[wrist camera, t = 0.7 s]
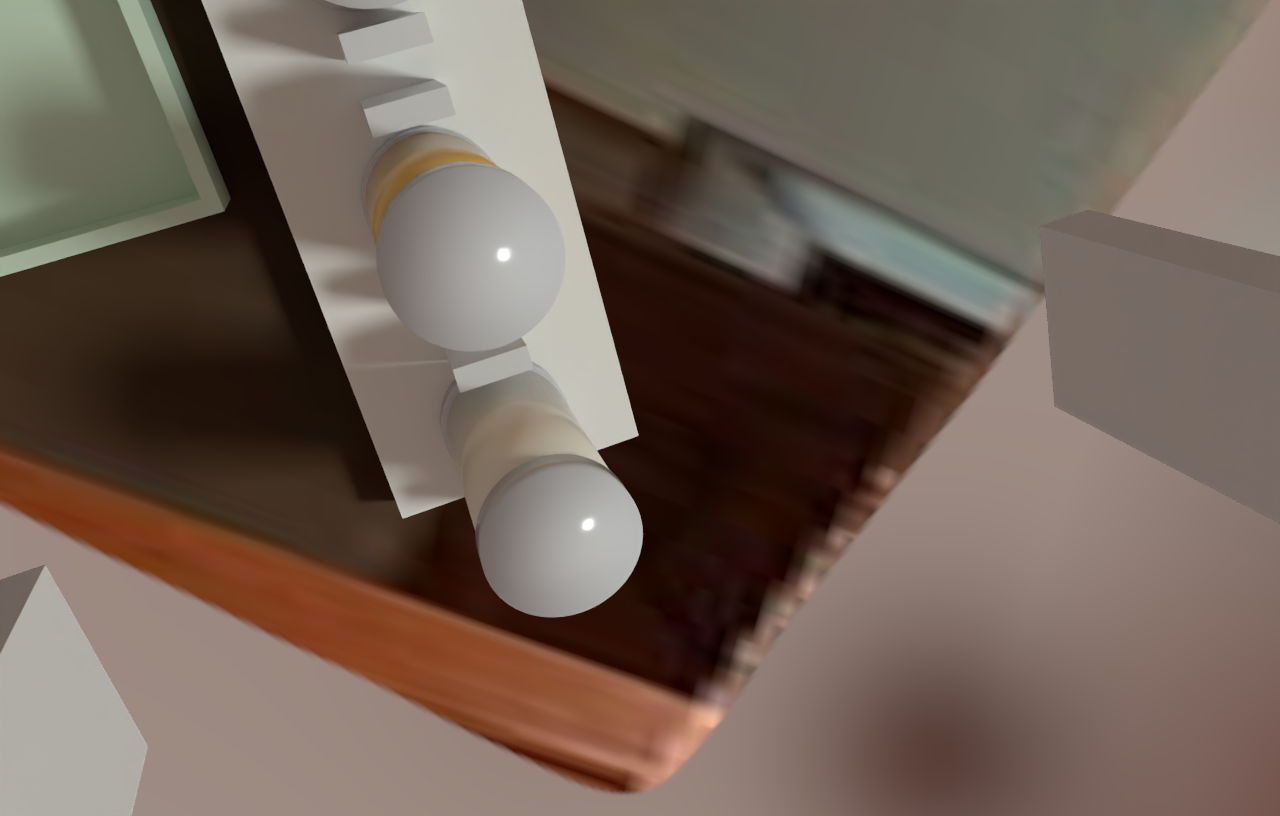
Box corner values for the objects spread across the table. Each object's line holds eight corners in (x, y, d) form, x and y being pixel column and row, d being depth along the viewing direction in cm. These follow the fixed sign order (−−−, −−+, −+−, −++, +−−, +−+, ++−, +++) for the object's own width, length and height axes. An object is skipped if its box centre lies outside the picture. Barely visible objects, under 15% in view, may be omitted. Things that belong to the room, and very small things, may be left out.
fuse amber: (340, 148, 32) (349, 198, 23) (477, 109, 33) (536, 143, 24) (388, 281, 34) (413, 375, 25) (516, 241, 35) (585, 319, 26)
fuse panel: (146, -155, 29) (115, -187, 25) (452, -226, 31) (474, -267, 26) (404, 512, 38) (415, 577, 34) (630, 432, 40) (670, 485, 35)
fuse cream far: (422, 379, 35) (459, 502, 26) (545, 339, 36) (620, 445, 27) (462, 489, 37) (508, 640, 28) (577, 449, 38) (659, 582, 29)
